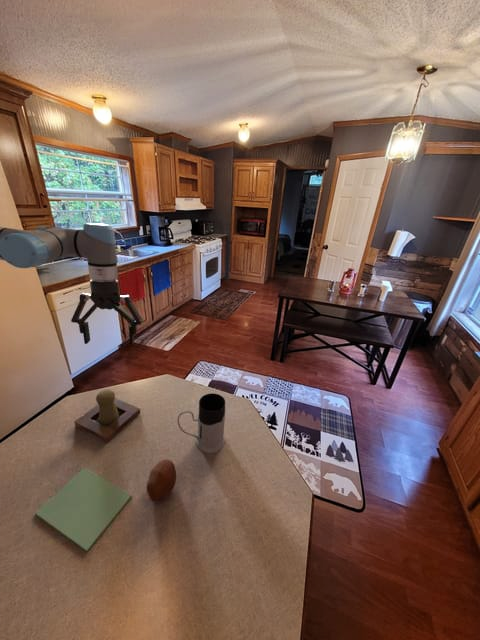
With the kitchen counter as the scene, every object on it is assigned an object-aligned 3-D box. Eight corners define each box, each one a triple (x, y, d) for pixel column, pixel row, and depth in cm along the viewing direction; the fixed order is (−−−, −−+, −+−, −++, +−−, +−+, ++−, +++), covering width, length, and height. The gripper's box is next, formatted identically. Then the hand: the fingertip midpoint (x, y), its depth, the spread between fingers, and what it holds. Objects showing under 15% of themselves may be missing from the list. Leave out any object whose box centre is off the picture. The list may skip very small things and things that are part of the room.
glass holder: (228, 448, 76) (231, 409, 70) (180, 461, 71) (180, 421, 65) (219, 426, 83) (222, 389, 77) (175, 437, 78) (174, 398, 72)
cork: (100, 414, 84) (95, 387, 79) (120, 411, 85) (117, 385, 81) (97, 428, 78) (91, 400, 74) (118, 425, 80) (114, 397, 76)
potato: (138, 498, 61) (135, 481, 58) (162, 466, 69) (161, 449, 66) (162, 511, 59) (161, 493, 56) (184, 476, 67) (184, 459, 64)
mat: (35, 514, 56) (34, 512, 56) (84, 469, 66) (84, 467, 66) (87, 552, 51) (86, 550, 51) (132, 496, 61) (131, 495, 61)
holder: (75, 426, 78) (74, 421, 77) (110, 400, 90) (110, 395, 89) (107, 443, 74) (106, 437, 73) (140, 413, 86) (140, 408, 85)
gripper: (50, 279, 69) (62, 347, 77) (145, 284, 74) (147, 348, 82) (63, 273, 76) (73, 336, 84) (150, 278, 81) (151, 338, 89)
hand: (110, 342), depth 83 cm, fingers open, 13 cm apart
